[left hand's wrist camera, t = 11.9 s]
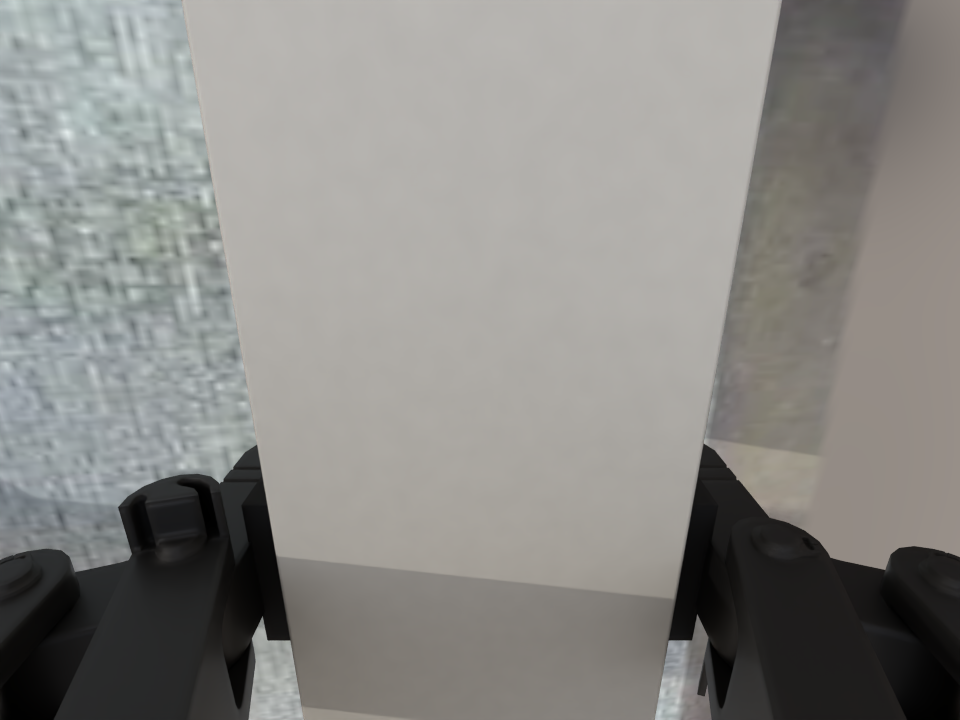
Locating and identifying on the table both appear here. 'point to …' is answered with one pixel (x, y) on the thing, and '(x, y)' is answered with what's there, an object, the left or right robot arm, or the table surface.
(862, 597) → the left robot arm
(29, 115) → the table surface
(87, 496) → the table surface
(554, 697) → the post
